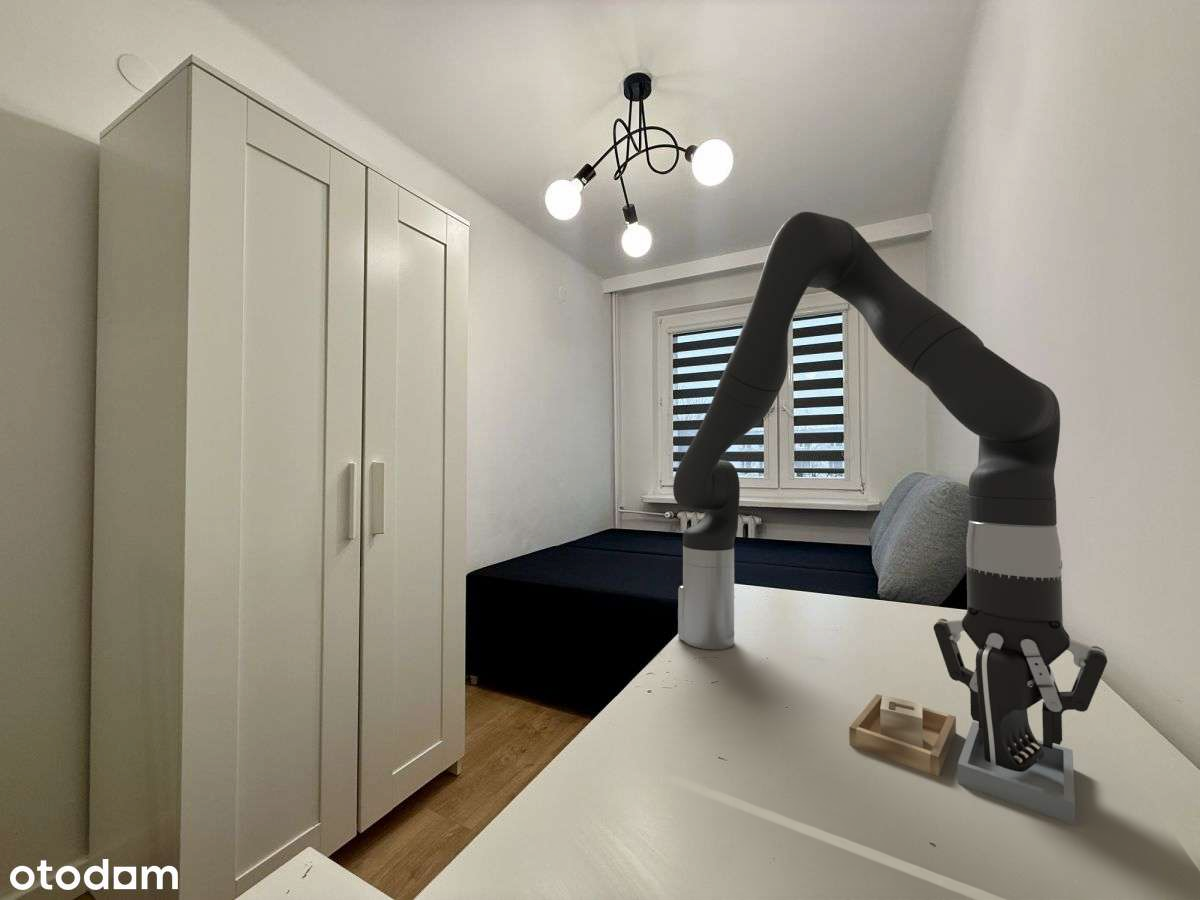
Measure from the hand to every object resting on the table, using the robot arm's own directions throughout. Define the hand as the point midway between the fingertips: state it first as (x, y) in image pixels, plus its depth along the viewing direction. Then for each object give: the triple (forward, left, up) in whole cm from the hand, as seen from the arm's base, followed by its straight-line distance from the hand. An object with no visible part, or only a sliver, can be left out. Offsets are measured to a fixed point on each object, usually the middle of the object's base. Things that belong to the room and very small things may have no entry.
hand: (1015, 734), depth 50 cm
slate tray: (0, 0, -5) cm, 5 cm away
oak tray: (-10, 0, -5) cm, 11 cm away
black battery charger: (0, 0, -3) cm, 3 cm away
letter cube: (-10, -1, -4) cm, 11 cm away
